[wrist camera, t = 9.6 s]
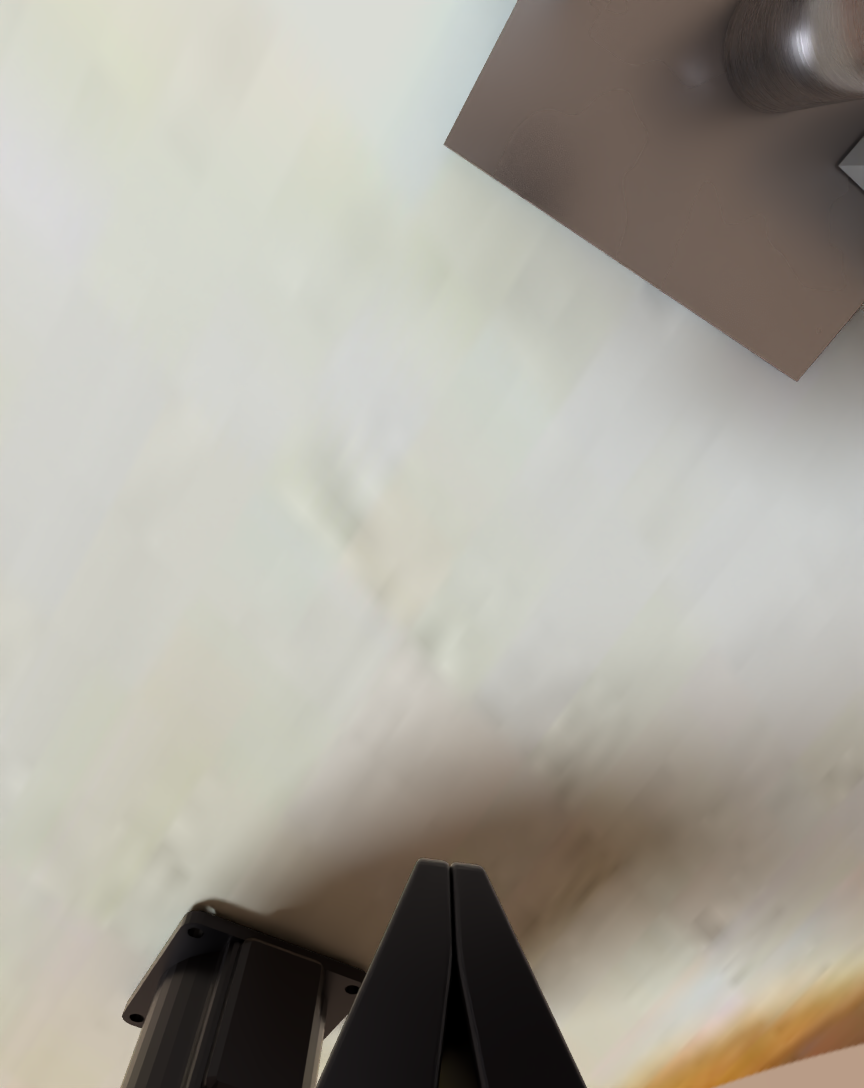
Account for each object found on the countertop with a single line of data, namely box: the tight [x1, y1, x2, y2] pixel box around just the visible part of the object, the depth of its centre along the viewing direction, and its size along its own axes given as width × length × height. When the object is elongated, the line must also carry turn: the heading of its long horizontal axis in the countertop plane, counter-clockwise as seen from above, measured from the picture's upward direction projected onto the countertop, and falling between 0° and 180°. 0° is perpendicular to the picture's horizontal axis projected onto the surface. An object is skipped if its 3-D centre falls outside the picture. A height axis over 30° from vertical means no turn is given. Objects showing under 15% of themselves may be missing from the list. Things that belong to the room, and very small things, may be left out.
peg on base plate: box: [444, 0, 864, 381], centre depth 9 cm, size 8×8×6 cm
